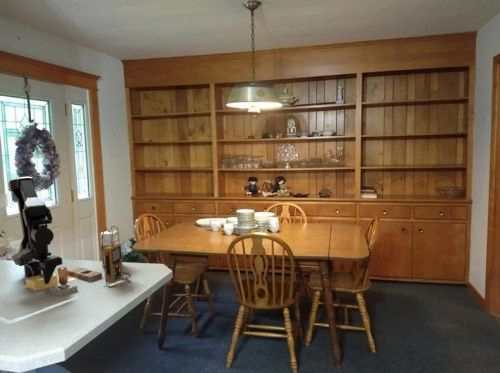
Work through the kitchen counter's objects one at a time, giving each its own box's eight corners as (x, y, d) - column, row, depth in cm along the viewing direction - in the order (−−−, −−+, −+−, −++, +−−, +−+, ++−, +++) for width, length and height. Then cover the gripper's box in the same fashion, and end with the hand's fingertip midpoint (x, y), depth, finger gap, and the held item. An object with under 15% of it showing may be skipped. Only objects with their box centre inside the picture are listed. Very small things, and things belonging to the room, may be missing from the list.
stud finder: (26, 287, 137) (25, 277, 137) (48, 280, 144) (48, 271, 143) (35, 290, 134) (34, 280, 134) (57, 283, 140) (57, 273, 140)
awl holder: (51, 295, 131) (50, 287, 131) (67, 289, 136) (67, 282, 136) (60, 298, 128) (60, 291, 128) (77, 292, 133) (77, 285, 133)
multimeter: (126, 288, 136) (122, 232, 134) (100, 287, 138) (96, 231, 136) (145, 274, 150) (142, 223, 148) (121, 273, 152) (118, 223, 150)
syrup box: (121, 263, 165) (119, 230, 163) (115, 268, 159) (113, 233, 157) (108, 263, 165) (106, 230, 163) (102, 267, 159) (99, 233, 158)
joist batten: (66, 276, 150) (66, 270, 149) (78, 272, 154) (78, 266, 154) (90, 283, 141) (89, 277, 141) (102, 279, 145) (101, 272, 145)
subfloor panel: (23, 288, 138) (23, 286, 138) (63, 275, 151) (63, 273, 151) (38, 293, 133) (38, 291, 133) (78, 280, 145) (78, 278, 145)
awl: (58, 294, 132) (56, 268, 131) (66, 291, 134) (63, 266, 133) (62, 296, 130) (60, 270, 129) (70, 293, 133) (68, 267, 132)
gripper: (1, 241, 136) (5, 284, 137) (28, 248, 125) (32, 295, 127) (33, 234, 145) (37, 275, 146) (61, 240, 134) (65, 284, 136)
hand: (42, 282), depth 139 cm, fingers closed on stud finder, 6 cm apart
